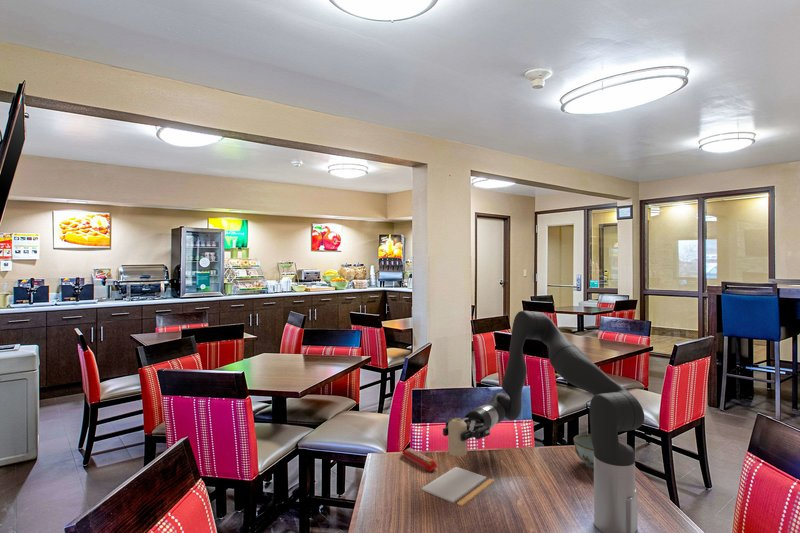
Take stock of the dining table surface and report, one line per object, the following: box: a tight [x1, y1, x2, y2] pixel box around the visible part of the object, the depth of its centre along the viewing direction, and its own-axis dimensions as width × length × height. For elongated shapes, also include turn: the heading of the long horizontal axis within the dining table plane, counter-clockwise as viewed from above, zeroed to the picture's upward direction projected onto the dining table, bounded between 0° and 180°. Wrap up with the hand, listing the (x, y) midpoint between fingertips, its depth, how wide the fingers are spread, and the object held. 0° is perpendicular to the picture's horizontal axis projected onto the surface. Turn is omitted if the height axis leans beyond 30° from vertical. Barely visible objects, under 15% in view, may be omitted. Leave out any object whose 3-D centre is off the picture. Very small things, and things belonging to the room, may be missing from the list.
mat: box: [421, 466, 487, 504], centre depth 133 cm, size 11×18×1 cm, turn 140°
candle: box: [447, 417, 468, 457], centre depth 134 cm, size 6×6×10 cm
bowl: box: [573, 433, 594, 471], centre depth 144 cm, size 14×14×8 cm
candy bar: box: [401, 447, 439, 472], centre depth 148 cm, size 16×4×3 cm, turn 35°
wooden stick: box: [456, 478, 495, 507], centre depth 128 cm, size 2×18×1 cm, turn 140°
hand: (452, 435), depth 132 cm, fingers closed on candle, 5 cm apart
